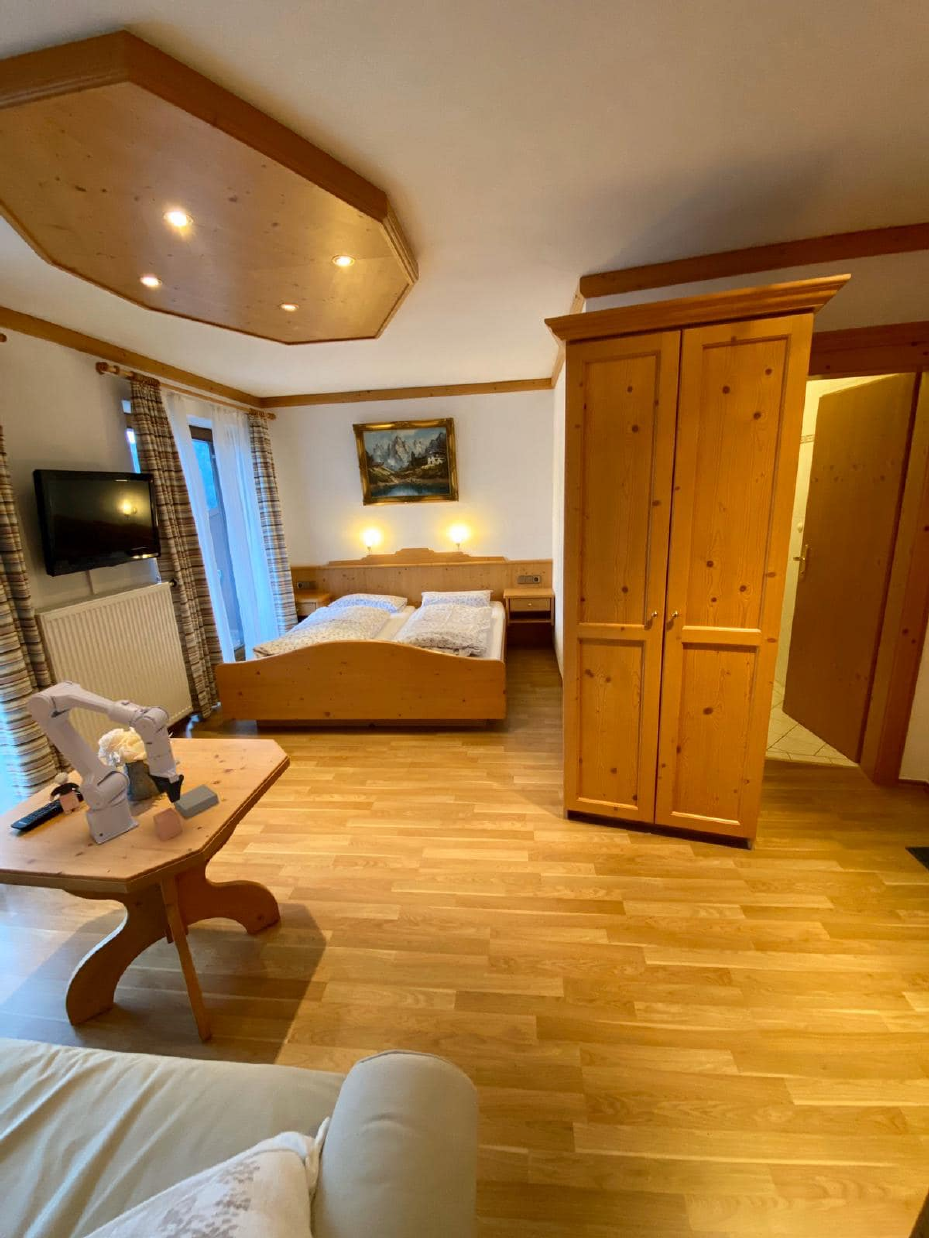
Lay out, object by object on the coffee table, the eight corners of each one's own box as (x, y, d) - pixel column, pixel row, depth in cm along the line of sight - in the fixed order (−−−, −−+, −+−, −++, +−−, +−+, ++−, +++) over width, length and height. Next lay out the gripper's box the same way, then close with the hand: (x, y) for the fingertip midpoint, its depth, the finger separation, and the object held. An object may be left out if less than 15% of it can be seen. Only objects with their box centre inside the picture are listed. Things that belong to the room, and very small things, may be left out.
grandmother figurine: (85, 801, 147) (74, 765, 144) (88, 806, 144) (77, 769, 141) (53, 815, 141) (41, 777, 138) (56, 820, 139) (44, 782, 135)
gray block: (187, 818, 136) (185, 809, 135) (174, 807, 141) (172, 798, 141) (219, 802, 143) (217, 794, 142) (205, 792, 148) (204, 784, 147)
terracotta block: (163, 841, 127) (159, 822, 126) (157, 834, 130) (152, 816, 128) (181, 832, 130) (177, 813, 129) (175, 825, 133) (170, 807, 132)
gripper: (186, 753, 126) (196, 797, 130) (164, 738, 135) (174, 780, 138) (157, 765, 121) (168, 811, 124) (136, 749, 130) (147, 792, 133)
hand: (169, 796), depth 131 cm, fingers open, 7 cm apart
